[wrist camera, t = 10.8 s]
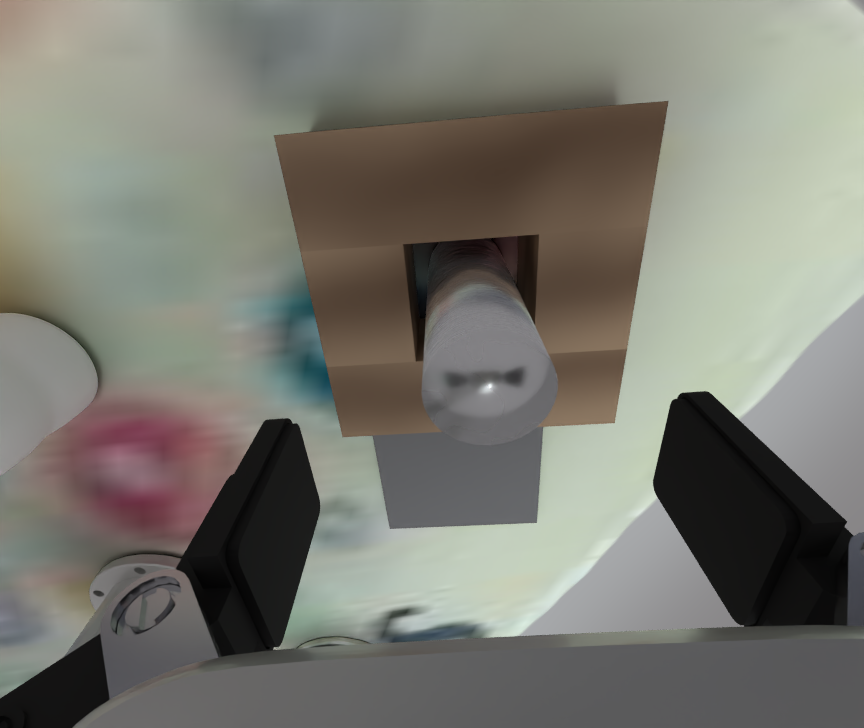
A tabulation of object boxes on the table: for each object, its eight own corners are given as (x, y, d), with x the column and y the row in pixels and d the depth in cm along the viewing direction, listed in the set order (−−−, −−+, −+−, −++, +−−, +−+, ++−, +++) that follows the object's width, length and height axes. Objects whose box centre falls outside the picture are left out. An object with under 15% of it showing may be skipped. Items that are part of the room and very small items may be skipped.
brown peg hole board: (585, 372, 26) (614, 423, 22) (358, 385, 27) (342, 436, 23) (616, 104, 19) (668, 101, 15) (309, 131, 20) (274, 135, 16)
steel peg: (502, 301, 24) (553, 442, 14) (431, 306, 24) (427, 448, 14) (503, 228, 22) (563, 326, 12) (425, 234, 22) (415, 336, 12)
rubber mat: (535, 516, 32) (536, 522, 32) (390, 522, 33) (389, 528, 32) (542, 395, 27) (544, 400, 27) (369, 404, 28) (368, 410, 27)
